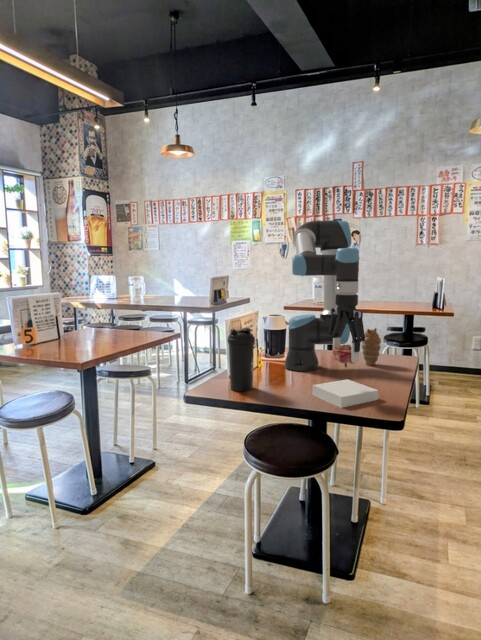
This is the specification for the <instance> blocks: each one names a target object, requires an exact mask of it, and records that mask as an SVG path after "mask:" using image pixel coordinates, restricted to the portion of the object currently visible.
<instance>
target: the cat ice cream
mask: <svg viewBox="0 0 481 640" xmlns="http://www.w3.org/2000/svg"><path fill="white" fill-rule="evenodd" d="M366 329H367V330H366V331H364V334H365V341H362V345H361V348H362V354H363V359H364V361H365V365H366V366H367V367H374V366H376V363H377V362H378V359H379V357H380V350H381V342H382V340H381V338H380V335H379V333H378V332H377V329H378V328H376V327H375V328H373V329H369V328H366Z"/></svg>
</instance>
